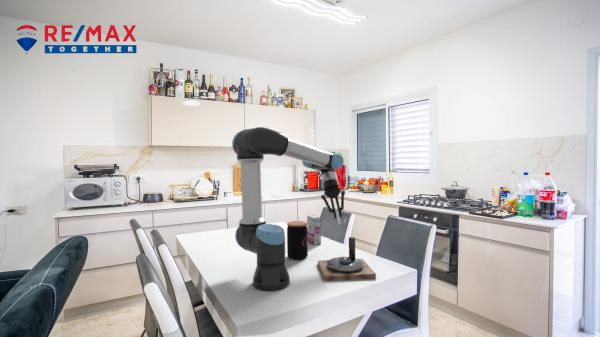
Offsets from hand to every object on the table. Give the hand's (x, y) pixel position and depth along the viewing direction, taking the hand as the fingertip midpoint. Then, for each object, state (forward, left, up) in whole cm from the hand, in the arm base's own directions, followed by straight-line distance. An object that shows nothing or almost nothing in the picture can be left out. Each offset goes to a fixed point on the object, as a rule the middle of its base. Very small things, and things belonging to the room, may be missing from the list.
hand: (339, 224), depth 146 cm
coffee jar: (-20, +11, -19) cm, 30 cm away
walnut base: (0, -12, -19) cm, 22 cm away
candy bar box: (-8, +38, -19) cm, 44 cm away
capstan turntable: (0, -12, -17) cm, 21 cm away
